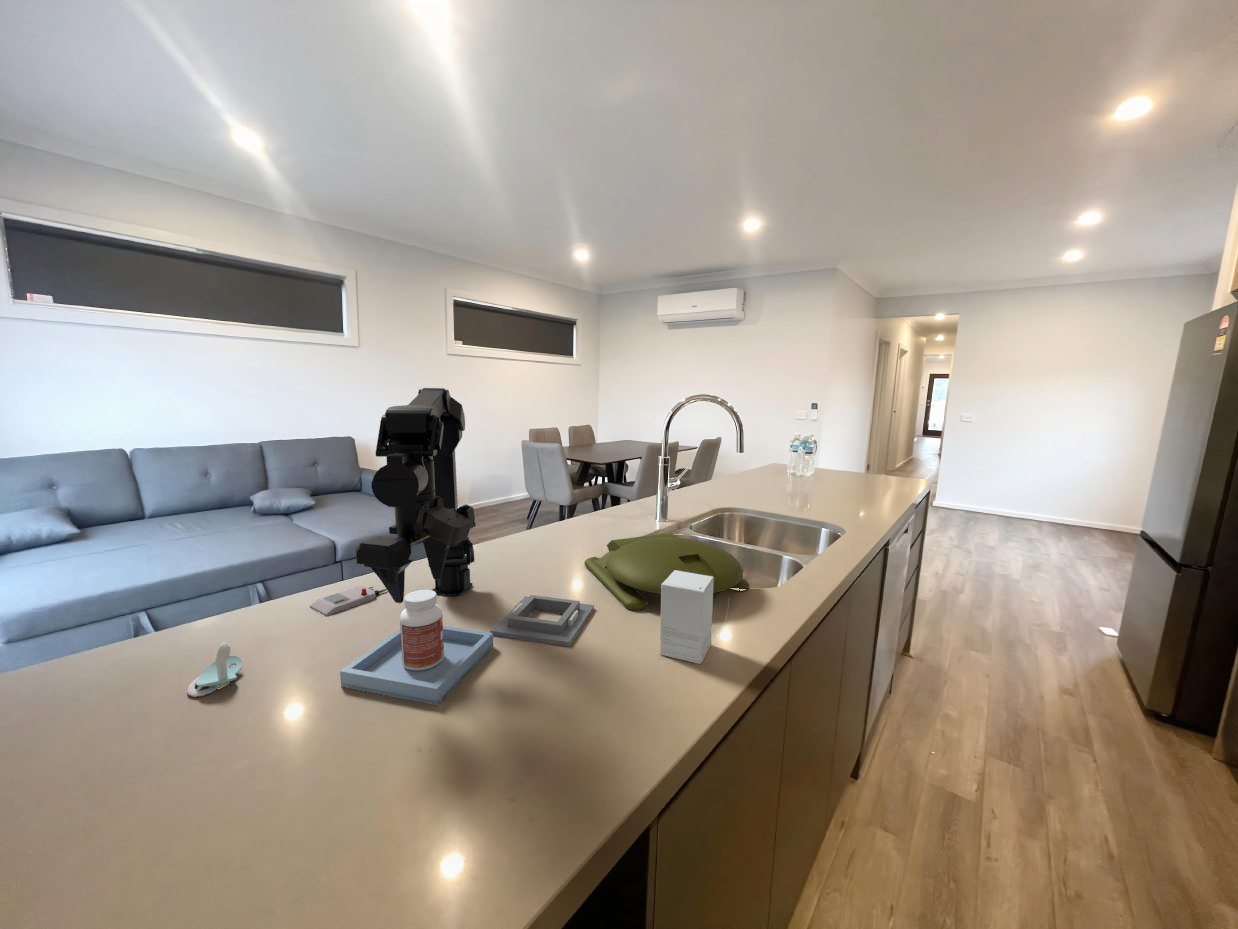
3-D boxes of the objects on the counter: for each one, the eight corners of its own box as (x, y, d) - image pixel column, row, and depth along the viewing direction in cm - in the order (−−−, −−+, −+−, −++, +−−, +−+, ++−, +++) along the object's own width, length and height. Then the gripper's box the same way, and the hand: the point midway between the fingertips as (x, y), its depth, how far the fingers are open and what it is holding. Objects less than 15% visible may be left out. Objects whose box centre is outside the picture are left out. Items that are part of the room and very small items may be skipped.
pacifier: (180, 706, 67) (234, 692, 69) (173, 664, 65) (228, 652, 68) (196, 677, 73) (245, 666, 76) (190, 639, 72) (240, 629, 75)
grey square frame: (490, 634, 86) (489, 622, 86) (525, 600, 101) (525, 589, 101) (569, 646, 83) (569, 633, 83) (594, 608, 97) (594, 597, 97)
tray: (341, 686, 71) (339, 671, 70) (411, 634, 86) (411, 621, 86) (437, 705, 67) (436, 688, 67) (493, 646, 83) (493, 633, 82)
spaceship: (581, 565, 122) (581, 528, 121) (686, 551, 134) (687, 517, 133) (641, 629, 91) (643, 579, 89) (772, 603, 103) (775, 559, 101)
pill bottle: (450, 662, 77) (448, 596, 75) (411, 677, 72) (408, 607, 71) (434, 646, 81) (431, 584, 79) (396, 660, 77) (392, 594, 75)
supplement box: (712, 644, 85) (715, 576, 83) (700, 666, 78) (704, 592, 76) (672, 635, 88) (674, 568, 86) (657, 654, 81) (660, 583, 79)
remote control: (299, 613, 95) (298, 599, 94) (376, 587, 107) (375, 574, 107) (316, 622, 91) (315, 607, 90) (394, 594, 104) (393, 580, 103)
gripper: (422, 509, 61) (427, 624, 64) (493, 483, 79) (495, 574, 82) (349, 503, 64) (356, 614, 66) (434, 479, 82) (437, 567, 84)
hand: (419, 590), depth 75 cm, fingers open, 9 cm apart
